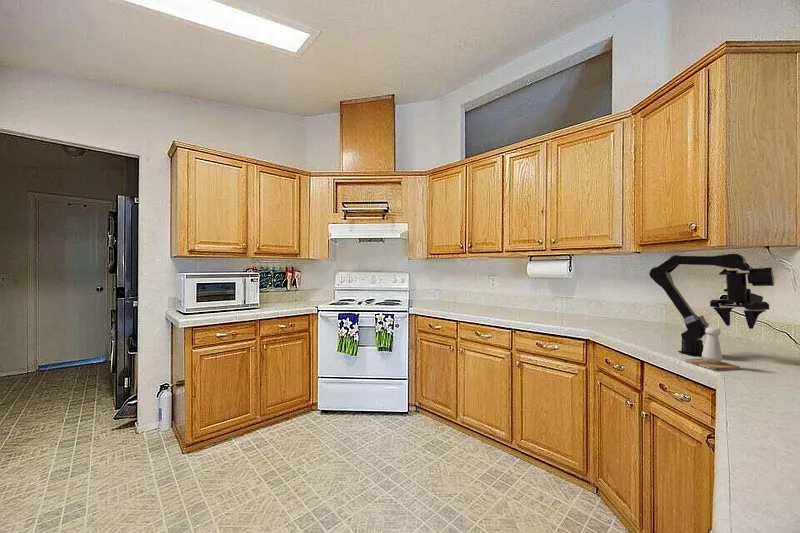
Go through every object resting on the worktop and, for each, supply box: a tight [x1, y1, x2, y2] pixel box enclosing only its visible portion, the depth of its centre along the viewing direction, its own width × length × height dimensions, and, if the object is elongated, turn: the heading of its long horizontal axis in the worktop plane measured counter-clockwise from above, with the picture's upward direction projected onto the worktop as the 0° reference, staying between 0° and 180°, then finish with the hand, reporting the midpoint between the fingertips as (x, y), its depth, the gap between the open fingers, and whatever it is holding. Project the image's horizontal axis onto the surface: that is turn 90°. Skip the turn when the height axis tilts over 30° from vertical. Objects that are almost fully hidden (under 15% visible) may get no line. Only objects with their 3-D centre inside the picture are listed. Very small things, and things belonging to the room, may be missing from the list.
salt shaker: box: [701, 326, 723, 364], centre depth 137 cm, size 6×6×13 cm
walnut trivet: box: [684, 358, 741, 371], centre depth 137 cm, size 11×11×1 cm
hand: (739, 327), depth 142 cm, fingers open, 9 cm apart
